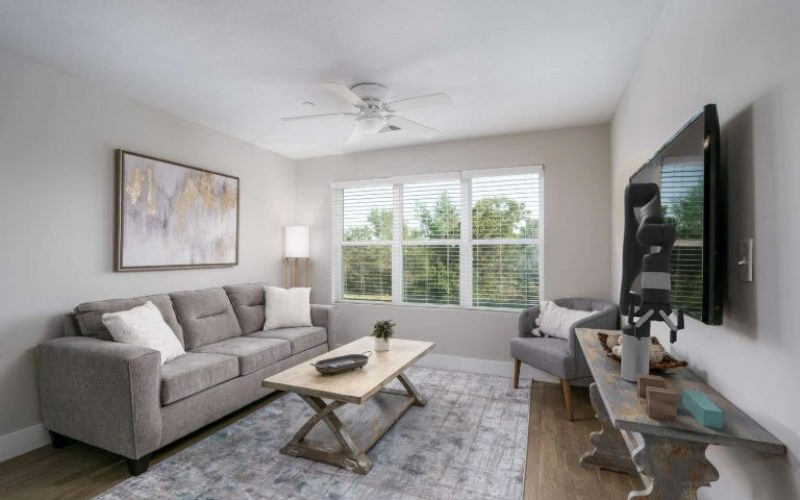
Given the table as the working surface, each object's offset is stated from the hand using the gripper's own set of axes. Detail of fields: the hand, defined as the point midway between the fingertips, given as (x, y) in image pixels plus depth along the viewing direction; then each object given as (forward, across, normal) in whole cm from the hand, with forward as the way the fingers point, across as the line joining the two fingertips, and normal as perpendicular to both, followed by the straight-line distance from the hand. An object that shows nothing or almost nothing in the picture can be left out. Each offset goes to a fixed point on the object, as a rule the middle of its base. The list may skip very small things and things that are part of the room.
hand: (655, 341), depth 119 cm
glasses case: (+21, -14, -10) cm, 27 cm away
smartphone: (+15, -12, -60) cm, 63 cm away
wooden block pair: (+21, -2, -9) cm, 23 cm away
